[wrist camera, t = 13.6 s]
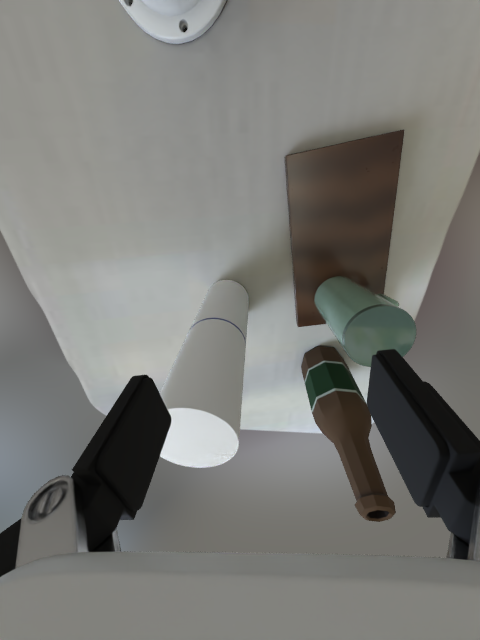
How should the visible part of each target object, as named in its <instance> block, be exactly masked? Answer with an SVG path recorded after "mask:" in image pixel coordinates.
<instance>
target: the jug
mask: <svg viewBox="0 0 480 640" xmlns="http://www.w3.org/2000/svg"><path fill="white" fill-rule="evenodd" d="M314 301H315V306H316V308H317V310H318V311H319V313H320V314H321V316H322V317H323V319H324V320H325V322H326V323H327V325H328V326H329V328H330V329H331V331H332V332H333V334H334V335H335V337H336V338H337V340H338V341H339V343H340V344H341V346H342V347H343V349H344V350H345V352H346V353H347V355H348V356H349V357H350V358H351V359H352V360H353V361H354V362H356V363H358V364H360V365H363V366H367V367H371V361H372V356H373V355H376V353H377V351H379V350H389V349H395V350H397V351H398V353H399V354H400V355H401V356H402V357H403V356H404V355H406V354H407V352H408V351H409V350H410V349H411V347H412V345H413V343H414V341H415V338H416V326H415V322H414V320H413V318H412V317H411V316H410V315H409V314H408V313H407V312H406V311H404V310H403V309H401V308H399V307H398V306H399V303H398V302H397V301H395V300H393V299H391V298H389V297H388V296H386V295H384V294H381V293H380V294H375V293H374V292H372V291H370V290H368V289H367V288H365V287H363V286H362V285H360V284H358V283H357V282H355V281H353V280H351V279H349V278H347V277H343V276H337V277H332V278H330V279H327V280H326V281H324V282H323V283H322V284H321V285H320V286H319V287H318V289H317V291H316V294H315V299H314Z"/></svg>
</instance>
